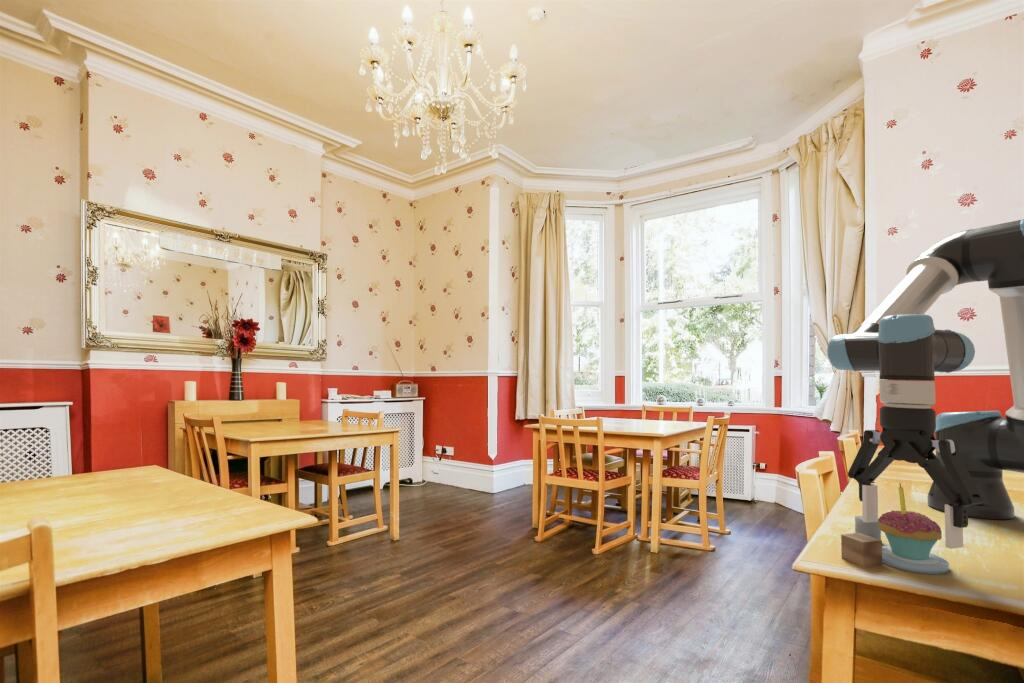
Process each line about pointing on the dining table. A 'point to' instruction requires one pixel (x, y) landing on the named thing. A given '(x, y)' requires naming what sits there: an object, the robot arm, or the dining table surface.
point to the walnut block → (861, 549)
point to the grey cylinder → (867, 528)
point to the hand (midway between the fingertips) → (909, 533)
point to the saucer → (915, 563)
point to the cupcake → (909, 532)
